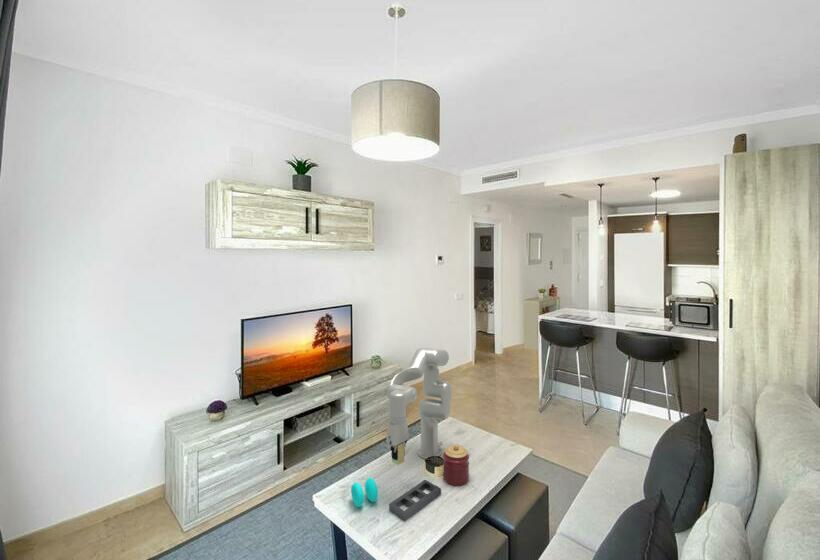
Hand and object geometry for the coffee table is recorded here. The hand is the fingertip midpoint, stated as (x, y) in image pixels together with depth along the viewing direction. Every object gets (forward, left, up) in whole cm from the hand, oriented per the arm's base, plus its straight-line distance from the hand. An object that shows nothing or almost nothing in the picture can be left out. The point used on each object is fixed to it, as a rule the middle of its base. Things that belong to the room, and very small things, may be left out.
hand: (398, 456), depth 170 cm
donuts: (+13, -9, -20) cm, 25 cm away
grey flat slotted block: (-3, +8, -20) cm, 22 cm away
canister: (-30, +11, -20) cm, 38 cm away
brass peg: (0, 0, -2) cm, 2 cm away
